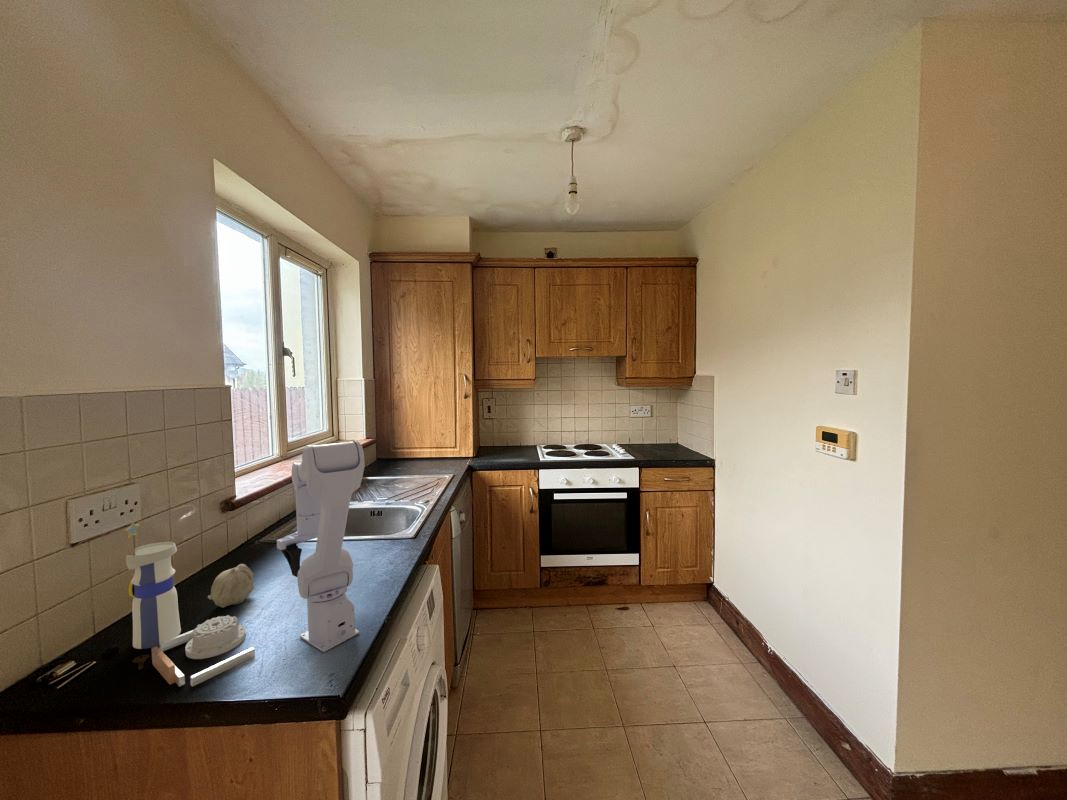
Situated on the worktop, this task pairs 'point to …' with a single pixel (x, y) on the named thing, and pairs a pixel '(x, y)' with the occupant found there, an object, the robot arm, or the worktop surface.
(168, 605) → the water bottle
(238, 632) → the mechanical component
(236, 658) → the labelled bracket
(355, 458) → the robot arm
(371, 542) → the worktop surface
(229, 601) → the garlic bulb
